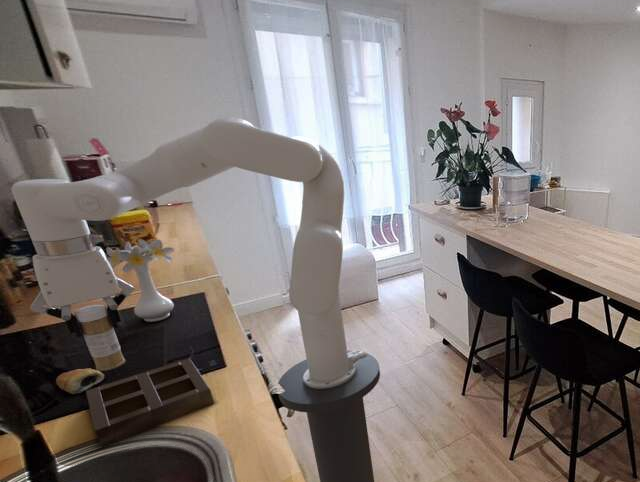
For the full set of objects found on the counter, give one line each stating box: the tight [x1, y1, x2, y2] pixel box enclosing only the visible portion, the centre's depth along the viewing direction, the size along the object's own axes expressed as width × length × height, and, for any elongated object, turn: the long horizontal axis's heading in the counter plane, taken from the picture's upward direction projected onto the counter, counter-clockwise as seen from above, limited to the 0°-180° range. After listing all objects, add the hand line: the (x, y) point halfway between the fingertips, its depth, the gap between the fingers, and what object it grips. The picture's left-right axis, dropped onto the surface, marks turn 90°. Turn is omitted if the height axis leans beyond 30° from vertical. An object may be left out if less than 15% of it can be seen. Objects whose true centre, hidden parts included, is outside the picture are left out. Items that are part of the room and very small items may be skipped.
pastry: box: [55, 367, 105, 395], centre depth 96 cm, size 9×7×4 cm
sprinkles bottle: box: [73, 304, 126, 371], centre depth 85 cm, size 5×5×14 cm
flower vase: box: [106, 238, 175, 323], centre depth 124 cm, size 13×18×25 cm
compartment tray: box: [85, 357, 215, 448], centre depth 90 cm, size 18×18×4 cm
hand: (97, 329), depth 84 cm, fingers closed on sprinkles bottle, 4 cm apart
